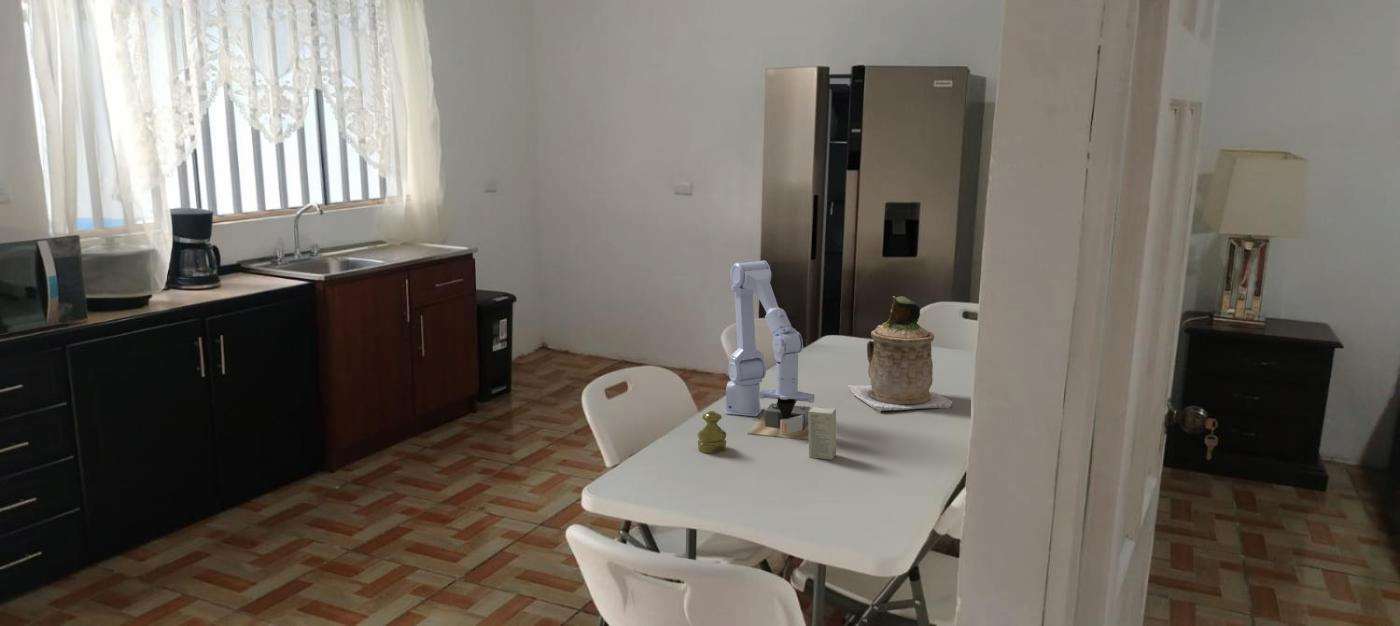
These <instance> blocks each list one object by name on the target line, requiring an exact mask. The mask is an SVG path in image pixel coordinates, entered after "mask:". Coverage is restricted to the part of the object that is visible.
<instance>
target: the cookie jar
mask: <svg viewBox="0 0 1400 626" xmlns="http://www.w3.org/2000/svg"><path fill="white" fill-rule="evenodd" d="M892 300H893V301H892V304H891V309H890V314H889V318H888V320H887V321H886V322H883V323H882V324H879V325H877V326H876V327H875V329H873V330H872V331H871V333H870V335H871V336H870V337H871V338H872V339H873V341H871V340H868V341H867V342H866V354H867V361H868V370H867V372H868V377H869V378H870V384H869V385H868V384H867V385H860V384H859V385H856V384H848V385H847V386H848V387H849V389H850V391H851V393H852V394H853V396H854V397H857V399H859V400H860V401H862V402H864V403H865V404H866V405H868V407H871V408H873V410H876V411H877V413H878V414H881V413H882V412H884V411H902V410H903V411H905V410H915V409H916V410H917V409H950V408H951V406H952V404H953V400H950V399H948V398H947V397H945V396H942V395H940V394H939V393H937V392H934V391H932V390H930V389H931V387H932V385H933V380H934V379H933V378H934V377H933V373H934V372H933V369H934V368H933V359H932V357H933V356H932V352H933V351H932V350H933V349H932V343H933V341H934V339H935V334H934V333H933V332H932V331H928V330H927V329H926V328H924V327H922V326H921V325H919V323H918V321H919V318H920V316H921V308H920V305H918V304H917V303H916V302H914V301H912V300H911V299H910V298H907V297H906V296H903V295H900V296H897V297H896V296H895V295H893V296H892Z"/></svg>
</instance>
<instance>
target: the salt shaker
mask: <svg viewBox="0 0 1400 626" xmlns="http://www.w3.org/2000/svg"><path fill="white" fill-rule="evenodd" d="M701 417H702V419H703V420H704V421H705V422H706V424H705V426H704V427H702V429H700V430H699V431H698V432H697V438H698V440H697V449H698V451H700V452H702V453H705V454H718V453H719V454H720V453H723V452H724V451H726V449H727V440H726V438H727V432H726V430H724V429H723V428H722V427H721V426H719V425H718V422H719V421H720V420H721V419H722V414H720V413H719V412H716V411H714V410H711V411H708V412H705V413H704V414H702V416H701Z"/></svg>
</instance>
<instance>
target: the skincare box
mask: <svg viewBox="0 0 1400 626" xmlns="http://www.w3.org/2000/svg"><path fill="white" fill-rule="evenodd" d="M808 420H809V440H808V457H809V458H812V459H822V460H830V461H831V460H833V459H834V458H835V456H836V455H837V409H836V408H834V407H833V408H832V407H831V408H830V407H822V406H821V407H820V406H812V407H810V410H809V411H808Z"/></svg>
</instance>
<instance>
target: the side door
mask: <svg viewBox="0 0 1400 626" xmlns="http://www.w3.org/2000/svg"><path fill="white" fill-rule="evenodd" d="M799 430H804V415H801V416H797V417H792V418H788V419H782V420H780V434H785V433H790V432H794V431H799Z"/></svg>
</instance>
